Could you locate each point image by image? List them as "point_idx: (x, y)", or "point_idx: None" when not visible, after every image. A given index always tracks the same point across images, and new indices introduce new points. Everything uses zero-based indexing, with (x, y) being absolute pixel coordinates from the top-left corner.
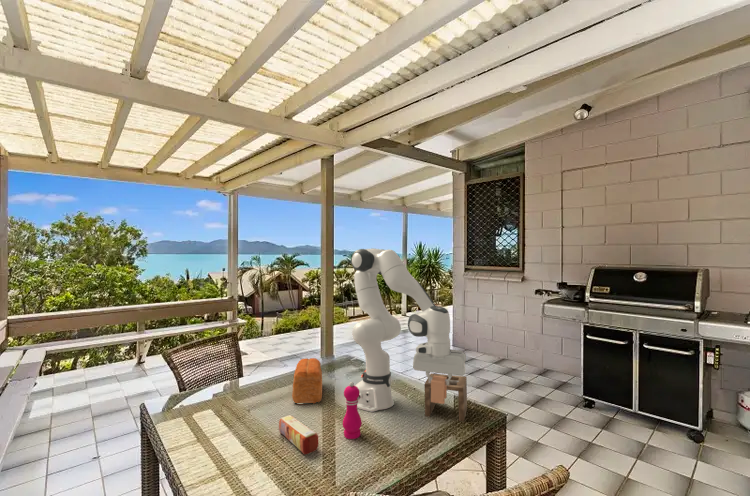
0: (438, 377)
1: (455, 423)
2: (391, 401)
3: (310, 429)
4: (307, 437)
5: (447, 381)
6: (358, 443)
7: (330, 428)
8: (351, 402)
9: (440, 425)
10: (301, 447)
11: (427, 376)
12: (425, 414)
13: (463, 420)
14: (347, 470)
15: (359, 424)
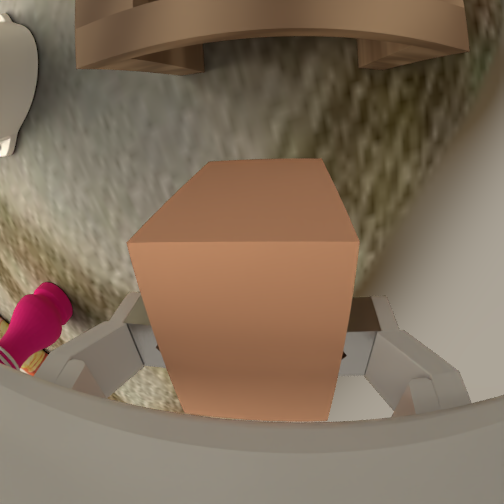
0: (224, 310)
1: (345, 98)
2: (23, 70)
3: (23, 369)
4: None
5: (368, 372)
6: None
7: (10, 282)
8: None
9: (277, 140)
10: None
11: (108, 382)
12: (180, 75)
13: (381, 69)
14: (140, 402)
15: (56, 332)
